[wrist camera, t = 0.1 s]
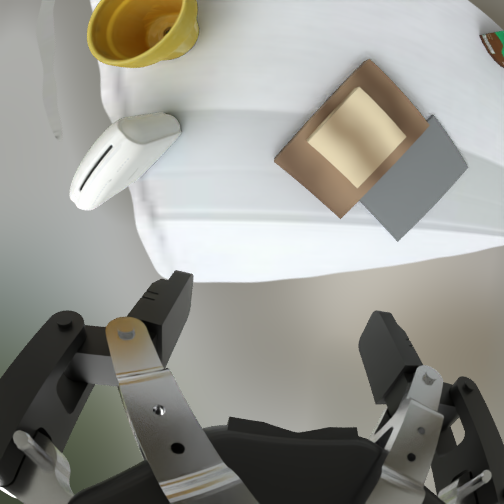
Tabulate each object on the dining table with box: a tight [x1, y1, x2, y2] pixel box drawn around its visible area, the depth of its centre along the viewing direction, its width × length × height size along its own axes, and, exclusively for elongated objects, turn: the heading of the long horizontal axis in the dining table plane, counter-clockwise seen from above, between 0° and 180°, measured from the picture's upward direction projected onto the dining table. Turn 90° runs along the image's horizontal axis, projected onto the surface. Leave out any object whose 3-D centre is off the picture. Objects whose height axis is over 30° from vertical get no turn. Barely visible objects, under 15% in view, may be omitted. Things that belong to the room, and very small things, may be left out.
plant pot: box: [87, 0, 199, 68], centre depth 18 cm, size 10×10×10 cm
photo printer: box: [70, 112, 182, 210], centre depth 24 cm, size 10×4×12 cm, turn 129°
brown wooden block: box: [274, 59, 430, 219], centre depth 26 cm, size 16×10×2 cm, turn 142°
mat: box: [359, 115, 468, 242], centre depth 28 cm, size 15×9×1 cm, turn 142°
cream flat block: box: [306, 87, 406, 188], centre depth 24 cm, size 8×7×2 cm
